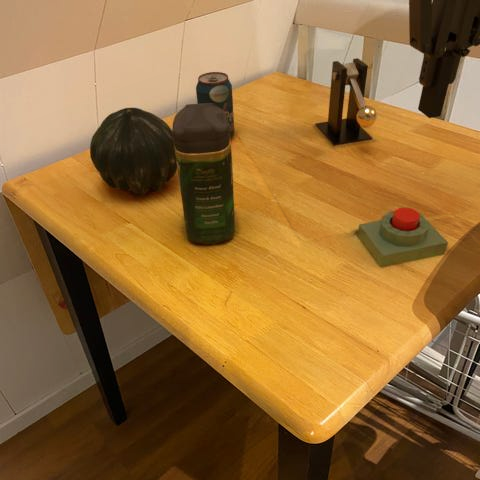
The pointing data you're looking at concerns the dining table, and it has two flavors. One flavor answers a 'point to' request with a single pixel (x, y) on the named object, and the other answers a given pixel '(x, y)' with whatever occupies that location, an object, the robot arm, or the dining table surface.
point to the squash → (134, 151)
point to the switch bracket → (337, 127)
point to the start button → (405, 219)
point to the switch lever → (359, 98)
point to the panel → (400, 241)
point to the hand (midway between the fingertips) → (429, 112)
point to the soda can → (217, 94)
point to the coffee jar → (205, 172)
